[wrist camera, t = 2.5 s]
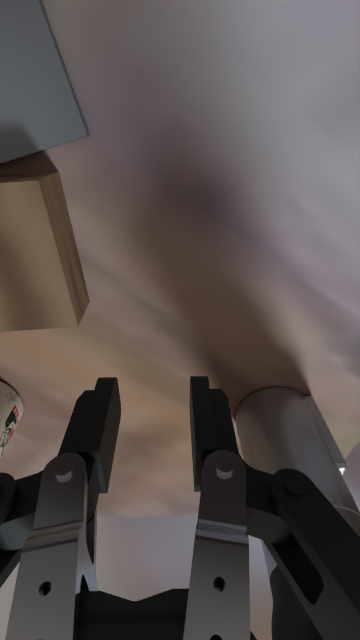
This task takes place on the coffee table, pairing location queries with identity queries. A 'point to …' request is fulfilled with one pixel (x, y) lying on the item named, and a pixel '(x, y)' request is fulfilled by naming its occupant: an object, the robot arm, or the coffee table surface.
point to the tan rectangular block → (38, 256)
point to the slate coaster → (33, 84)
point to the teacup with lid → (8, 414)
